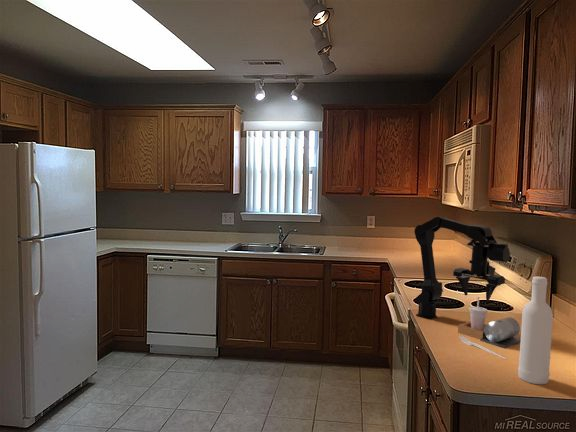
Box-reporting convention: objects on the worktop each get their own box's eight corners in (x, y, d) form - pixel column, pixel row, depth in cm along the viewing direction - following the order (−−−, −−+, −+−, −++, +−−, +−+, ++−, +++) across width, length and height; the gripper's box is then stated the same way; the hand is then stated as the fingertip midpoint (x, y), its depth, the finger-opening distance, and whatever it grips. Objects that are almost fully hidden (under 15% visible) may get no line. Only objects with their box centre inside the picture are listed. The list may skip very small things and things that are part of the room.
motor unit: (455, 333, 173) (456, 313, 173) (474, 327, 181) (475, 308, 181) (504, 348, 158) (506, 326, 158) (522, 341, 166) (524, 320, 166)
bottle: (544, 375, 135) (551, 276, 134) (552, 386, 128) (559, 281, 126) (515, 371, 138) (521, 273, 136) (521, 382, 130) (528, 278, 128)
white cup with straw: (482, 331, 176) (484, 295, 175) (488, 336, 170) (490, 300, 169) (465, 330, 177) (467, 295, 176) (470, 335, 170) (472, 299, 170)
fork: (503, 362, 147) (503, 356, 147) (457, 340, 165) (457, 335, 165) (510, 360, 149) (510, 355, 148) (463, 339, 167) (464, 334, 167)
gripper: (514, 260, 173) (510, 301, 175) (469, 253, 188) (467, 290, 190) (498, 263, 167) (495, 304, 168) (453, 255, 182) (451, 293, 183)
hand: (476, 297), depth 177 cm, fingers open, 9 cm apart
